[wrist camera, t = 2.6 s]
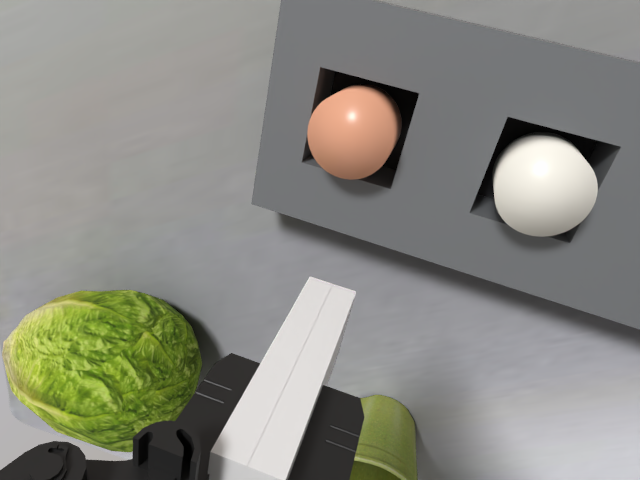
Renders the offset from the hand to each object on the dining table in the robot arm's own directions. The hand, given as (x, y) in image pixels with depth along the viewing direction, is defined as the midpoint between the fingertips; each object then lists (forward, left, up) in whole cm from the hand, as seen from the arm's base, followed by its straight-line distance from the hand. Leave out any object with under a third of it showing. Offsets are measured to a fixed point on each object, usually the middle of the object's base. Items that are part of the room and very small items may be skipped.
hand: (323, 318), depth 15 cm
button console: (-8, -2, -20) cm, 22 cm away
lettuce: (+22, +25, -21) cm, 39 cm away
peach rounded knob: (+3, -2, -18) cm, 18 cm away
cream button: (-8, -2, -18) cm, 20 cm away
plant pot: (-5, +24, -21) cm, 32 cm away
